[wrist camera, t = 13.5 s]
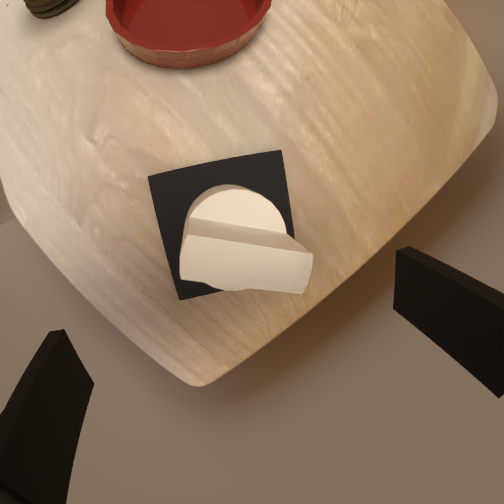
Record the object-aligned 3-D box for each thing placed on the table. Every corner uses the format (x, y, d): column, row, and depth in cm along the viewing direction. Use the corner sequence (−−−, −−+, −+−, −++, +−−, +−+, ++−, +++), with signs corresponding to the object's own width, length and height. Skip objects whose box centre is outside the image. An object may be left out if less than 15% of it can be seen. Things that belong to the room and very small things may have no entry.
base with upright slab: (278, 193, 30) (327, 212, 19) (259, 273, 32) (294, 330, 21) (193, 177, 28) (191, 185, 17) (179, 261, 30) (172, 318, 19)
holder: (179, 297, 32) (179, 300, 32) (148, 176, 28) (147, 176, 27) (296, 270, 34) (299, 272, 33) (279, 150, 30) (281, 149, 29)
